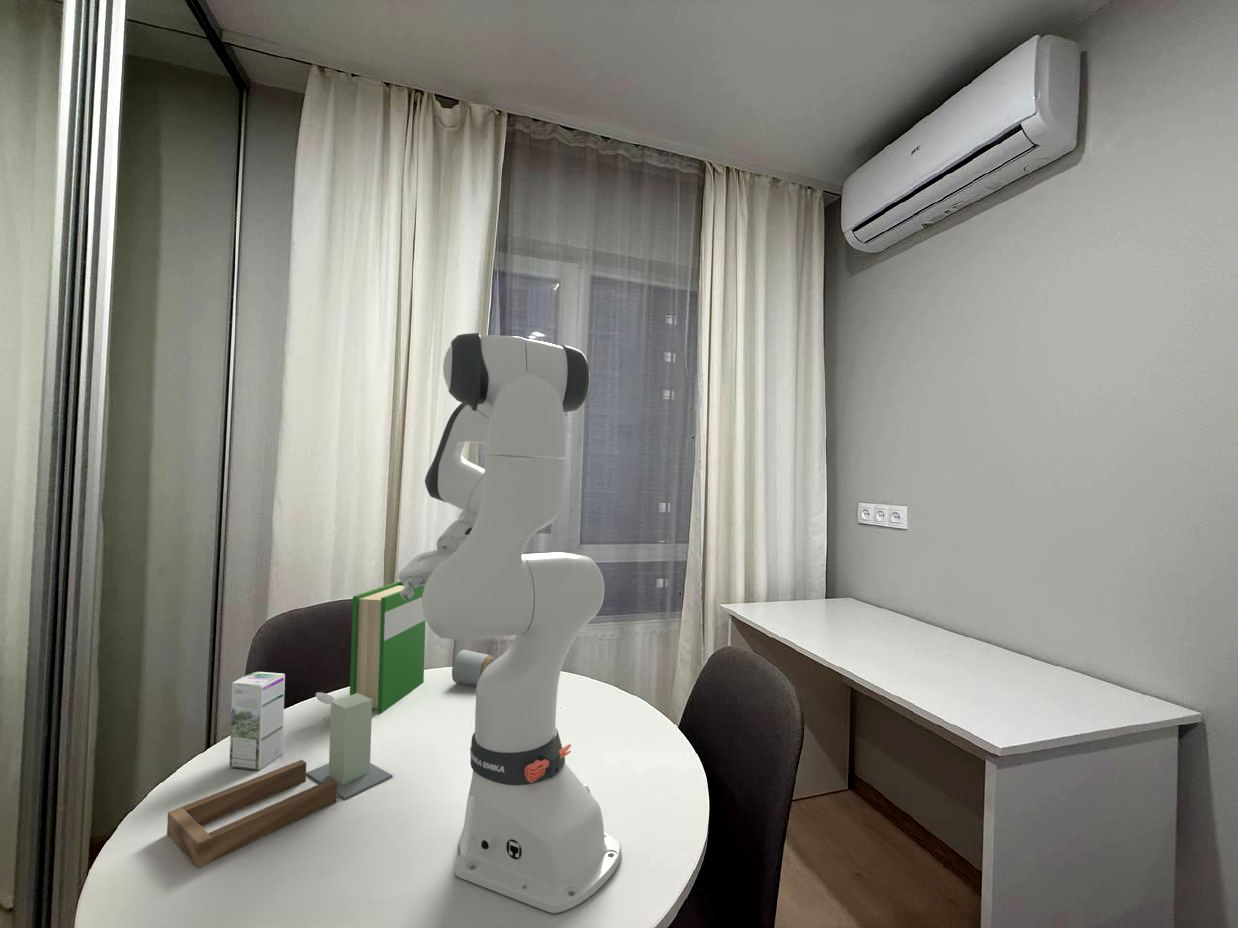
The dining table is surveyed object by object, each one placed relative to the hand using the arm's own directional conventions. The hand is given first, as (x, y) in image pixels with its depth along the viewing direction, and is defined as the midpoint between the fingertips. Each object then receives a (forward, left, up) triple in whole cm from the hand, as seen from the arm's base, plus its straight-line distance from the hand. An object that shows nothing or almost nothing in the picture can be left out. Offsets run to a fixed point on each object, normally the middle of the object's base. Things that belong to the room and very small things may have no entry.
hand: (422, 593), depth 101 cm
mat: (0, +13, -28) cm, 31 cm away
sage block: (0, +13, -28) cm, 30 cm away
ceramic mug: (+16, -27, -28) cm, 43 cm away
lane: (0, +26, -28) cm, 38 cm away
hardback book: (+25, -10, -28) cm, 39 cm away
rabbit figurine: (+23, +4, -28) cm, 36 cm away
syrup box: (+17, +20, -28) cm, 38 cm away
